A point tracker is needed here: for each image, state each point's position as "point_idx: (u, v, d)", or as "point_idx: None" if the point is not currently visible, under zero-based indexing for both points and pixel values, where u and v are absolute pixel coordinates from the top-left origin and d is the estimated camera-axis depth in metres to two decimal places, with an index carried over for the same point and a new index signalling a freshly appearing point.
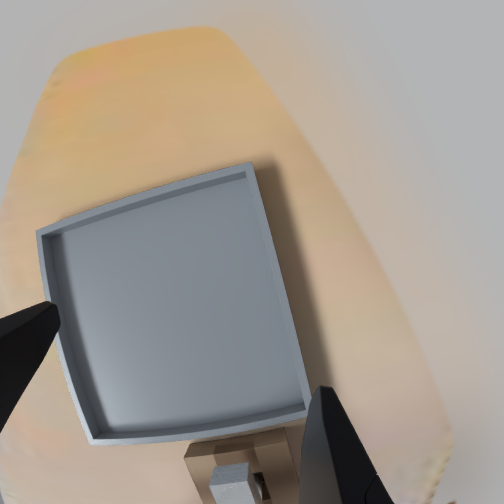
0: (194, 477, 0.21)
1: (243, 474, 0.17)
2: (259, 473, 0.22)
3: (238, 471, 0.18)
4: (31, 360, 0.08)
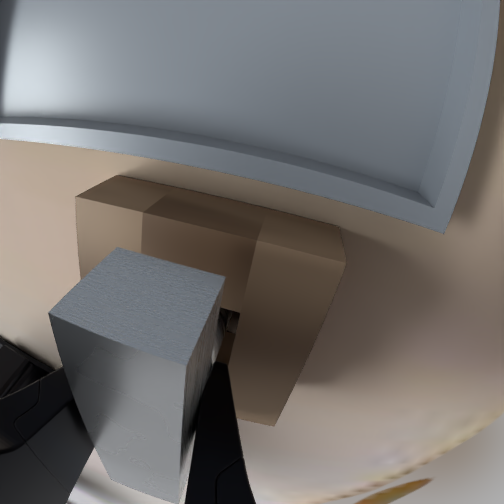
0: (83, 257, 0.10)
1: (185, 325, 0.05)
2: None
3: (176, 299, 0.06)
4: None
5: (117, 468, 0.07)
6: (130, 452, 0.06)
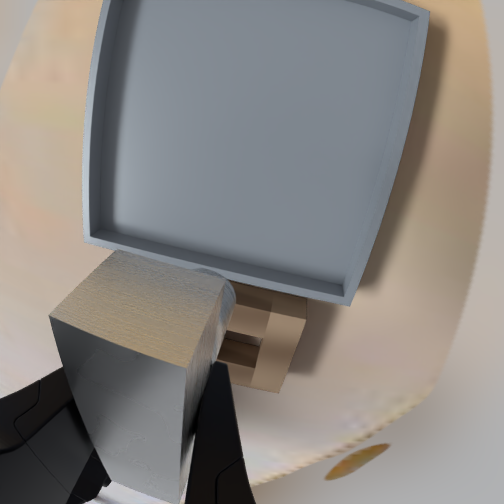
0: None
1: (185, 327, 0.05)
2: (229, 309, 0.11)
3: (176, 302, 0.06)
4: None
5: (117, 469, 0.07)
6: (130, 454, 0.06)
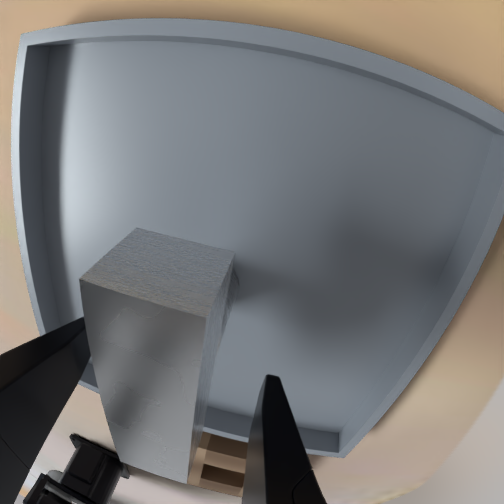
0: None
1: (203, 287, 0.06)
2: (233, 293, 0.12)
3: (193, 268, 0.06)
4: (69, 380, 0.08)
5: (128, 446, 0.08)
6: (143, 424, 0.07)
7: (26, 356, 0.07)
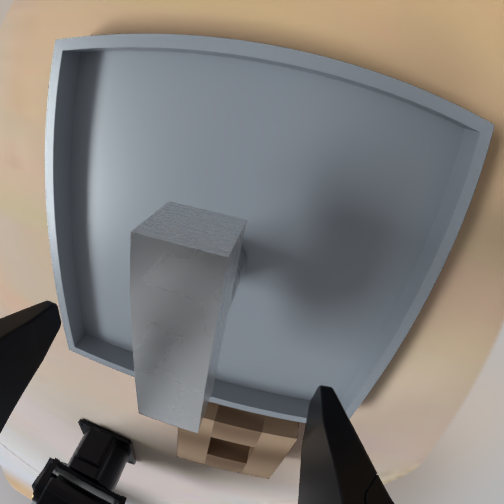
0: None
1: (224, 240, 0.08)
2: (242, 265, 0.14)
3: (216, 228, 0.09)
4: (31, 360, 0.08)
5: (149, 393, 0.10)
6: (166, 364, 0.09)
7: None
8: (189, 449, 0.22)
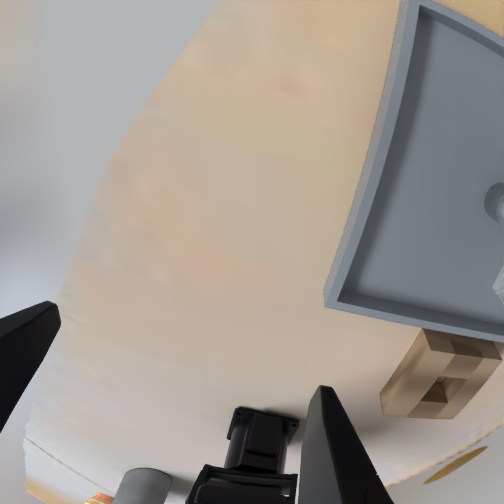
0: (419, 370, 0.20)
1: None
2: None
3: None
4: (31, 360, 0.08)
5: None
6: None
7: None
8: (405, 400, 0.22)
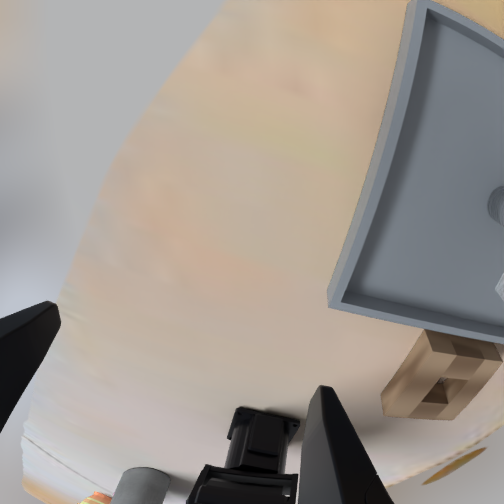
0: (421, 371, 0.20)
1: None
2: None
3: None
4: (31, 360, 0.08)
5: None
6: None
7: None
8: (406, 401, 0.22)
